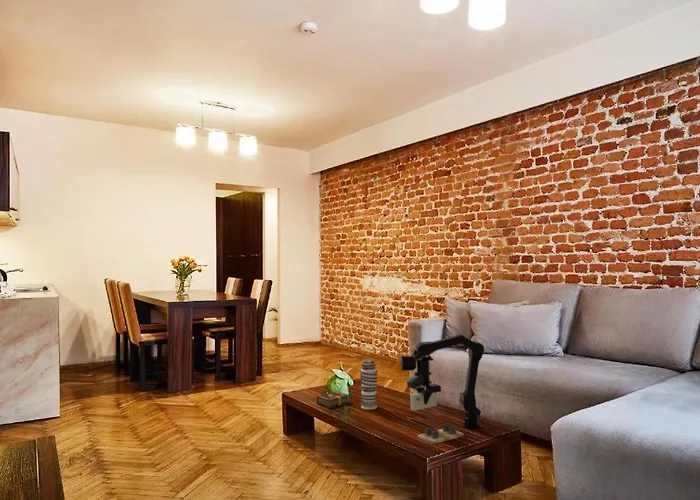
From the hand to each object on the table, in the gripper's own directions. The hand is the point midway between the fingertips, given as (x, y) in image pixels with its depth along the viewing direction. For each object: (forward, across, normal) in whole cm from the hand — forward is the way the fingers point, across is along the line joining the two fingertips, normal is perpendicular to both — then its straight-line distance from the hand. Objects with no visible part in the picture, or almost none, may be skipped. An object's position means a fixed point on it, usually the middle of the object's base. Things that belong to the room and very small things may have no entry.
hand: (424, 403), depth 234 cm
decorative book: (+12, -60, -16) cm, 63 cm away
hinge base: (+11, +12, -1) cm, 17 cm away
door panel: (+2, 0, 0) cm, 2 cm away
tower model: (+12, -42, -4) cm, 44 cm away
